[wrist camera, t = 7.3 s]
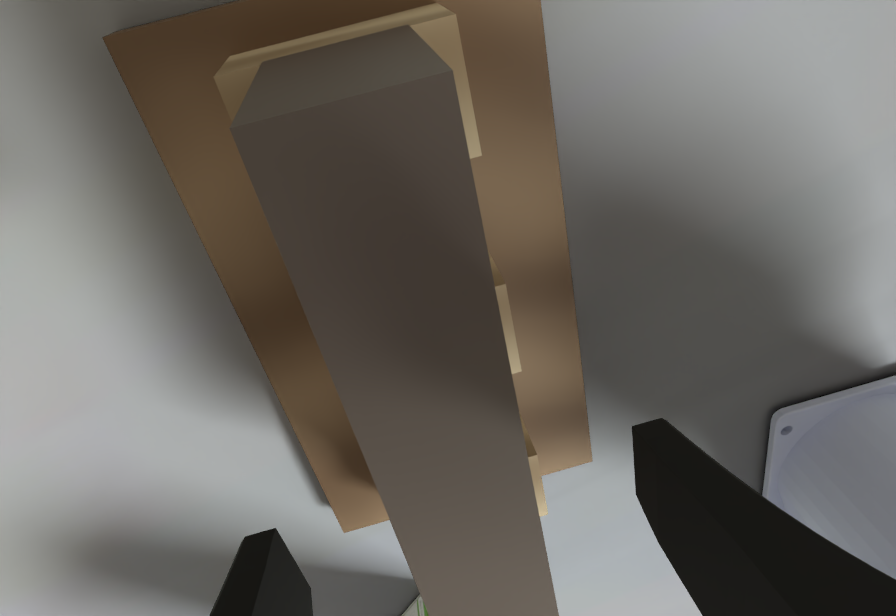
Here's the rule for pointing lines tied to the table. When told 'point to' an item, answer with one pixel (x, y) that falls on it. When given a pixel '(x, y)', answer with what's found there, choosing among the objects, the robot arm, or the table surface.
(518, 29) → the display stand
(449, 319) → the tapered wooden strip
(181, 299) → the table surface
